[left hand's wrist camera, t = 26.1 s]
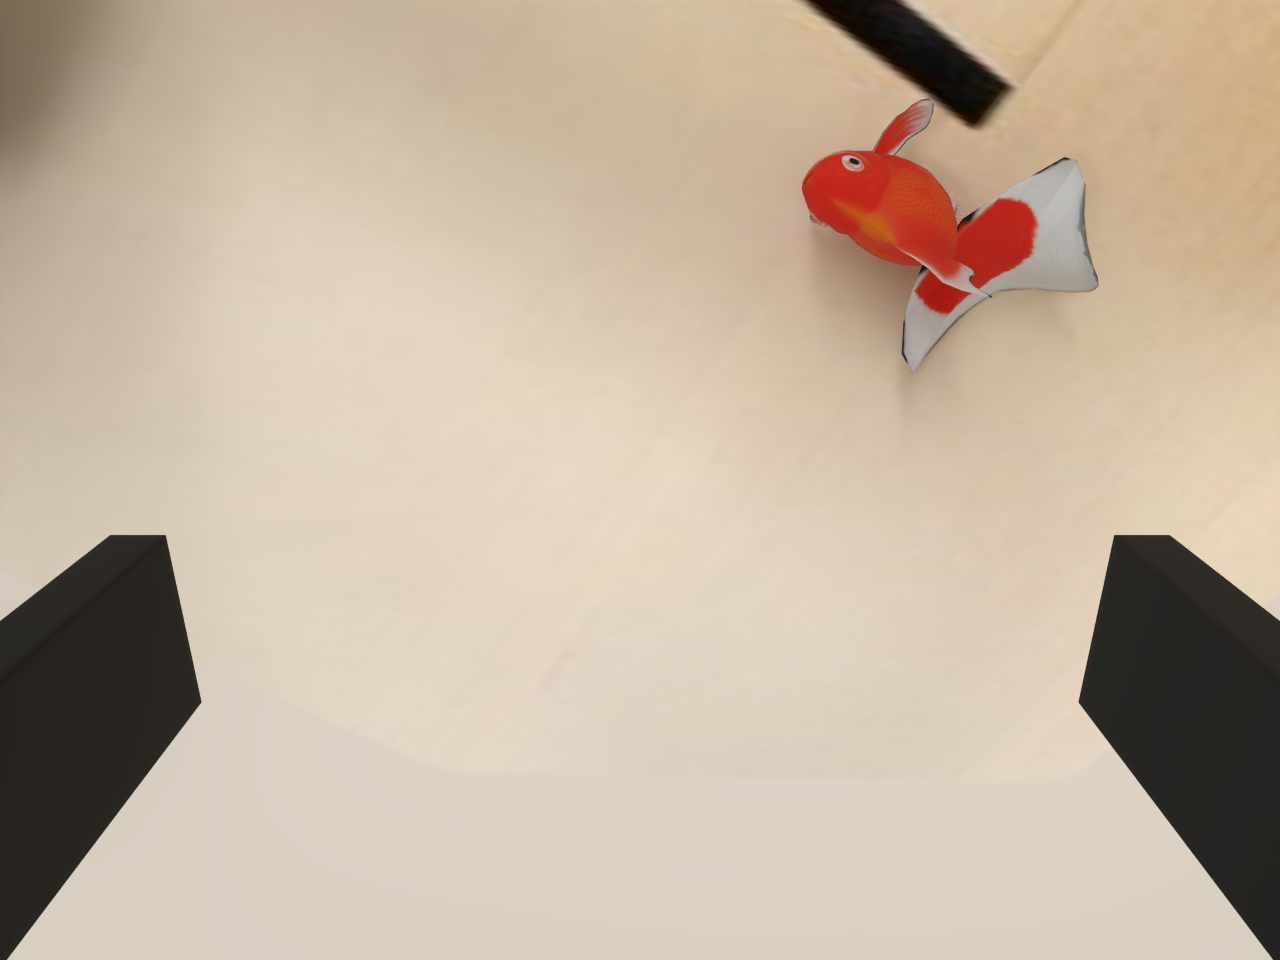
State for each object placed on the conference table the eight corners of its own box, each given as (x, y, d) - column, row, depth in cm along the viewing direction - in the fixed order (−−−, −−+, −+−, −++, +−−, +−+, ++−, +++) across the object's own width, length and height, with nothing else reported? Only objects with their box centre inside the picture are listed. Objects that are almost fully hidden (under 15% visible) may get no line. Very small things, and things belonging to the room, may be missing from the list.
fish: (937, -29, 37) (1025, 105, 31) (1096, 179, 46) (1188, 313, 40) (742, 151, 43) (785, 293, 37) (919, 305, 52) (975, 437, 46)
